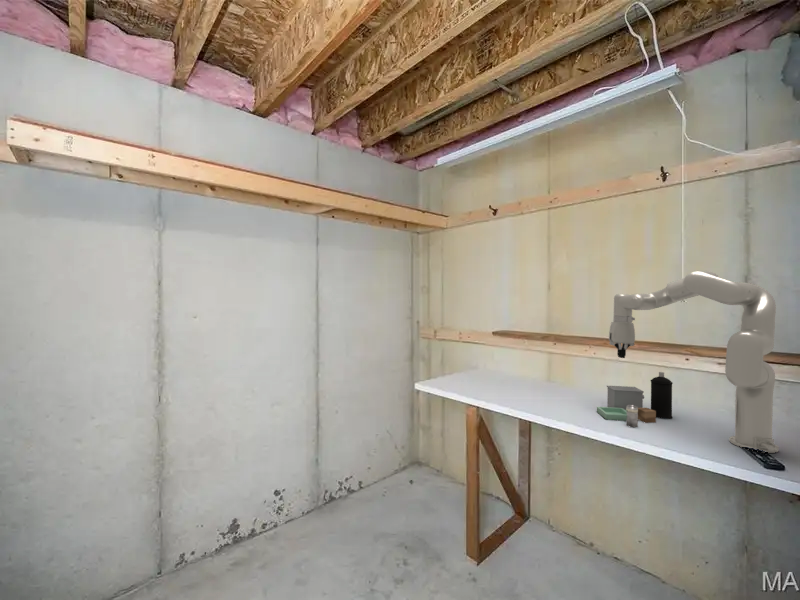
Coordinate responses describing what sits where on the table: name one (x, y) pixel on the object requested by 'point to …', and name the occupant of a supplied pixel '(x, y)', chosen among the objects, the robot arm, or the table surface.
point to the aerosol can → (661, 396)
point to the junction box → (624, 397)
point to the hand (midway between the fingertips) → (621, 357)
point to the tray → (612, 413)
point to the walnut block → (646, 415)
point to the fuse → (632, 415)
